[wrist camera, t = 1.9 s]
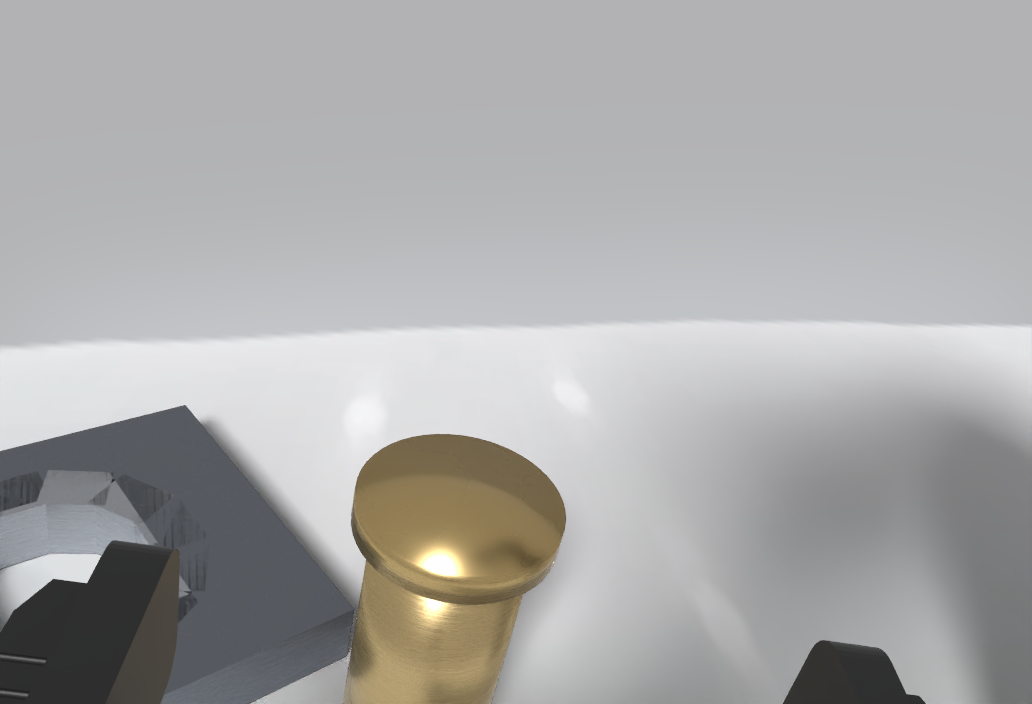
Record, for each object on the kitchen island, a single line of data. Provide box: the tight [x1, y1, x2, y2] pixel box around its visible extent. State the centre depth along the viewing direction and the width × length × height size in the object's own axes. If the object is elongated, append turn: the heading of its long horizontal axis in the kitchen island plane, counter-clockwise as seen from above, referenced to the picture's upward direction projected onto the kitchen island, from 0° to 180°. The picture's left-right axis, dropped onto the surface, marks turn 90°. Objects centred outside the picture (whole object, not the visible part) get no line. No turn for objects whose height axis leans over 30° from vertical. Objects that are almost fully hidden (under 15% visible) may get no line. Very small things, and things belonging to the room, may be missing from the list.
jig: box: [0, 405, 354, 704], centre depth 33 cm, size 16×14×2 cm
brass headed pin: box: [343, 434, 566, 704], centre depth 28 cm, size 6×6×12 cm
